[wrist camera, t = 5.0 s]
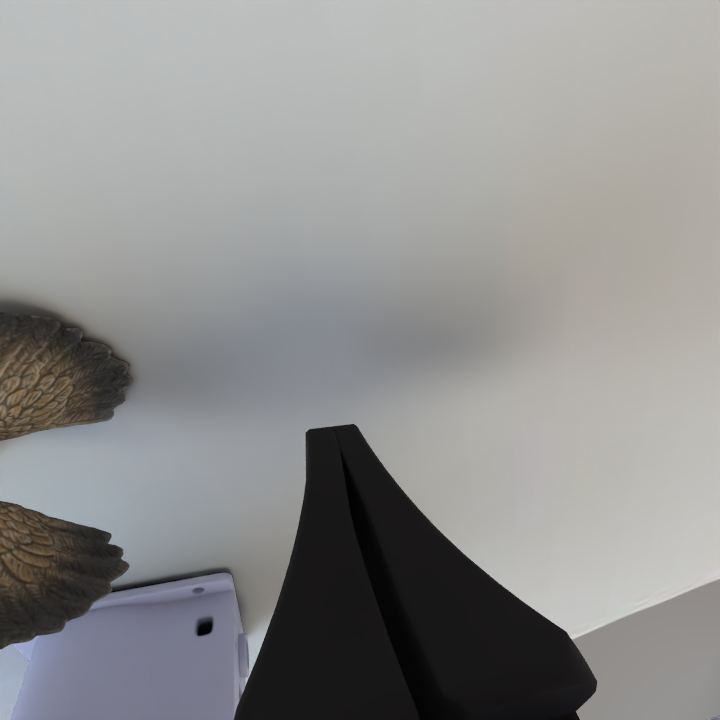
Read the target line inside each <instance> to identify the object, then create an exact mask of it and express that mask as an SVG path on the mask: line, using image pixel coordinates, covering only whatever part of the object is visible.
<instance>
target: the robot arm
mask: <svg viewBox="0 0 720 720" xmlns="http://www.w3.org/2000/svg"><path fill="white" fill-rule="evenodd" d="M13 645H14V646H15V647H16V648H17V649H18V650H19V651H20V652H21V654H22V655H23V656H24V657H25V658H26V659H27V660H28V661H29V663H28V667H27V670H26V673H25V676H24V679H23V682H22V685H21V688H20V692H19V695H18V698H17V701H16V704H15V707H14V710H13V714H12V717H11V720H580V719H579V717H578V715H577V713H576V710H578V709H579V708H580V707H581V706H582V705H583V704H584V703H585V702H586V701H587V700H588V699H589V698H590V697H591V696H592V695H593V694H594V693H595V691H596V686H597V680H596V679H595V677H594V675H593V673H592V671H591V670H590V668H589V666H588V664H587V662H586V661H585V659H584V658H583V656H582V654H581V653H580V651H579V650H578V648H577V647H576V645H575V644H574V643H573V641H572V640H571V638H570V637H569V635H568V634H567V632H566V631H564V630H563V629H561V628H560V627H558V626H557V625H555V624H554V623H552V622H551V621H550V620H548V619H547V618H545V617H544V616H542V615H541V614H539V613H538V612H537V611H535V610H534V609H532V608H531V607H530V606H528V605H527V604H525V603H524V602H523V601H521V600H520V599H519V598H517V597H516V596H515V595H513V594H512V593H511V592H509V591H508V590H507V589H505V588H504V587H503V586H502V585H500V584H499V583H498V582H497V581H495V580H494V579H493V578H492V577H491V576H489V575H488V574H487V573H486V572H485V571H483V570H482V569H481V568H480V567H479V566H477V565H476V564H475V563H474V562H473V561H471V560H470V559H469V558H468V557H467V556H466V555H464V554H463V553H462V552H461V551H460V550H459V549H458V548H457V547H456V546H455V545H454V544H453V543H451V542H450V541H449V540H448V539H447V538H446V537H445V536H444V535H443V534H442V533H441V532H440V531H439V530H438V529H437V528H436V527H435V526H434V525H433V524H432V523H431V522H430V521H429V520H428V519H427V518H426V516H425V515H424V514H423V513H422V512H421V511H420V510H419V509H418V508H417V507H416V505H415V504H414V503H413V502H412V501H411V500H410V499H409V497H408V496H407V495H406V494H405V493H404V491H403V490H402V489H401V488H400V487H399V485H398V484H397V483H396V482H395V480H394V479H393V478H392V476H391V475H390V474H389V473H388V471H387V470H386V469H385V467H384V466H383V465H382V463H381V462H380V461H379V459H378V458H377V456H376V455H375V453H374V452H373V451H372V449H371V448H370V446H369V445H368V443H367V442H366V440H365V438H364V437H363V435H362V434H361V432H360V430H359V429H358V427H357V426H356V425H354V424H350V425H342V426H333V427H325V428H316V429H310V430H308V431H307V432H306V485H305V493H304V500H303V505H302V510H301V515H300V521H299V526H298V530H297V535H296V539H295V543H294V547H293V551H292V555H291V558H290V562H289V566H288V569H287V573H286V576H285V579H284V583H283V586H282V589H281V592H280V596H279V599H278V602H277V605H276V608H275V611H274V614H273V616H272V619H271V622H270V625H269V627H268V630H267V633H266V636H265V638H264V641H263V644H262V647H261V649H260V652H259V654H258V657H257V660H256V662H255V665H254V667H253V669H252V672H251V674H250V677H249V679H248V681H247V684H246V686H245V677H248V675H249V650H248V638H247V634H246V633H244V632H243V627H242V622H241V617H240V612H239V607H238V602H237V597H236V593H235V588H234V583H233V578H232V576H231V575H230V574H228V573H217V574H212V575H206V576H201V577H195V578H190V579H184V580H179V581H173V582H168V583H162V584H157V585H151V586H146V587H140V588H135V589H129V590H124V591H118V592H113V593H109V594H108V595H107V596H106V597H104V598H102V599H100V600H98V601H96V602H95V603H94V604H93V605H92V606H91V608H90V610H89V611H88V612H87V613H86V614H85V615H83V616H81V617H78V618H75V619H72V620H70V621H68V622H66V625H65V627H64V629H63V630H62V631H61V632H58V633H54V634H49V635H41V636H36V637H35V638H34V639H33V640H31V641H28V642H24V643H16V644H13ZM707 720H720V716H717V717H713V718H710V719H707Z"/></svg>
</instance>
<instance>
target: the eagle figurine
mask: <svg viewBox="0 0 720 720" xmlns="http://www.w3.org/2000/svg"><path fill="white" fill-rule="evenodd" d="M60 325H61V324H60V323H59V322H58V321H56V320H54V319H52V318H49V317H39V316H34V315H24V316H18V315H16V314H12V313H9V312H7V313H0V441H2V440H7V439H12V438H16V437H20V436H23V435H27V434H30V433H33V432H37V431H42V430H48V429H52V428H59V427H67V426H73V425H82V424H91V423H97V422H102V421H107V420H110V419H111V418H112V417H113V416H114V411H113V409H114V408H115V407H117V406H118V405H120V404H122V403H123V402H124V401H125V396H124V395H123V393H122V392H121V391H122V390H124V389H127V388H128V387H129V386H130V385H131V384H132V378H131V377H130V376H128V375H127V374H126V372H127V371H128V369H129V365H128V364H127V363H126V362H125V361H122V360H119V359H116V358H113V357H111V356H110V354H111V353H112V351H111V350H110V348H109V347H107V346H105V345H104V344H100V343H96V342H81V338H82V336H83V332H82V331H80V330H79V329H77V328H71V329H69V328H60ZM110 539H111V533H108V532H106V531H102V530H99V529H96V528H93V527H88V526H84V525H79V524H75V523H72V522H68V521H65V520H61V519H57V518H52V517H48V516H46V515H44V514H42V513H40V512H37V511H34V510H30V509H26V508H24V507H22V506H20V505H18V504H13V503H8V502H2V501H0V650H1V649H3V648H4V647H6V646H8V645H10V644H16V643H24V642H28V641H31V640H33V639H34V638H35V637H36V636H41V635H49V634H54V633H58V632H61V631H62V630H63V629H64V627H65V625H66V622H68V621H70V620H72V619H75V618H78V617H81V616H83V615H85V614H86V613H87V612H88V611H89V610H90V608H91V606H92V605H93V604H94V603H95V602H96V601H98V600H100V599H102V598H104V597H106V596H107V595H108V594H109V593H110V592H111V591H112V587H111V586H110V582H111V581H113V580H115V579H117V578H118V577H120V576H122V575H123V574H124V573H125V572H126V571H127V570H128V568H129V564H128V563H127V562H125V561H123V560H122V559H121V557H122V556H123V549H122V548H120V547H118V546H116V545H111V544H108V542H109V540H110Z"/></svg>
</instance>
